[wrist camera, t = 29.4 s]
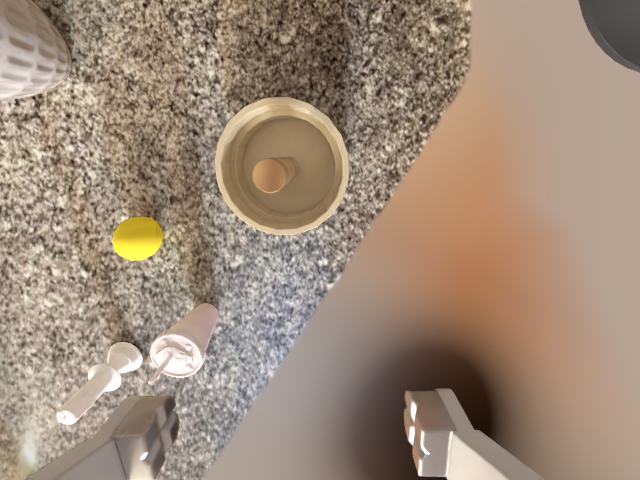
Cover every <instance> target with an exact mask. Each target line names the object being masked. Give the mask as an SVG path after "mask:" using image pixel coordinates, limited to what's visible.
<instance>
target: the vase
mask: <svg viewBox="0 0 640 480" xmlns="http://www.w3.org/2000/svg"><path fill="white" fill-rule="evenodd" d="M71 67H72V59H71V54H70V51H69V48H68V46H67V44H66V43H65V41H64V39H63V38H62V36H61V35H60V33H59V32H58V30H57V29H56V27H55V26H54V24H53V23H52V22H51V20H50V19H49V18H48V17H47V16H46V15H45V14H44V13H43V11H42V10H41V9H40V8H39V7H38V6H37V5H36V4H35V3H34V2H33V1H32V0H0V100H8V99H17V98H25V97H29V96H33V95H37V94H41V93H44V92H47V91H49V90H51V89H52V88H54V87H56V86H57V85H59V84H60V83H62V82H63V81H64V80H66V78H67V77H68V76H69V74H70V71H71Z"/></svg>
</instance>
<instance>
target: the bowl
mask: <svg viewBox="0 0 640 480" xmlns="http://www.w3.org/2000/svg"><path fill="white" fill-rule="evenodd" d="M277 157H292V158H294V159H295V160H296V161H297V162H298V164H299V173H298V175H297V176H296V177H295V178H294V179H292V180H291V181H290V182H289V183H288V184H286V185H285V186H284V187H283V188H281V189H280V190H279V191H277V192H273V193H267V192H264V191H262V190H260V189H259V188H258V187H257V186H256V185H255V183H254V181H253V175H252V174H253V169H254V167H255V165H256V164H257V163H258V162H259V161H260V160H262V159H265V158H277ZM214 162H215V170H216V178H217V184H218V186H219V188H220V191H221V193H222V195H223V197H224V199H225V202H226V203H227V205H228V206H229V207H230V208H231V209H232V210H233V211H234V213H235V214H236V215H237V216H238V217H239V218H240V219H241V220H242V221H244V222H246V223H247V224H249V225H250V226H252V227H254V228H255V229H257V230H259V231H263V232H267V233H270V234H274V235H296V234H300V233H302V232H305V231H308V230H311V229H314V228H316V227H317V226H319V225H320V224H321V223H322V222H324V221H325V220H326V219H328V218H329V217H330V216H331V215H332V214H333V212H334V211H335V210H336V208H337V207H338V205H339V204H340V202H341V201H342V199H343V197H344V194H345V190H346V187H347V184H348V181H349V156H348V153H347V150H346V147H345V143H344V140H343V137H342V136H341V133H340V132H339V131H338V129H337V128H336V127H335V125H334V124H333V122H332V121H331V120H330V118H329V117H328V116H327V115H325V114H324V113H322V112H321V111H320V110H318V109H317V108H315V107H314V106H313V105H311V104H309V103H307V102H304V101H300V100H297V99H294V98H290V97H272V98H264V99H261V100H259V101H256V102H254V103H252V104H249V105H247V106H245V107H244V108H242V109H241V110H240V111H239V112H238V113H237V114H236V115H235V116H234V117H233V118H232V119H230V120H229V122H228V123H227V125H226V127H225V129H224V131H223V133H222V134H221V136H220V138H219V140H218V144H217V150H216V156H215V161H214Z"/></svg>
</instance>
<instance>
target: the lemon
mask: <svg viewBox="0 0 640 480" xmlns="http://www.w3.org/2000/svg"><path fill="white" fill-rule="evenodd" d="M162 240H163V233H162V229H161V228H160V226H159V224H158V222H157V221H156V219H154V218H149V217H141V216H140V217H133V218H129V219H127V220H125V221H123V222H122V223H120V224H119V226H118V227H117V228H116V230H115V231H114V235H113V243H112V244H113V246H114V249H115V251H116V252H117V253H118V254H119V255H120V256H122V257H123V258H126V259H129V260H143V259H145V258H147V257H149V256H152V255H153V254H154V253H155V252H156V251H157V250H158V249H159V248H160V245H161V243H162Z"/></svg>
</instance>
